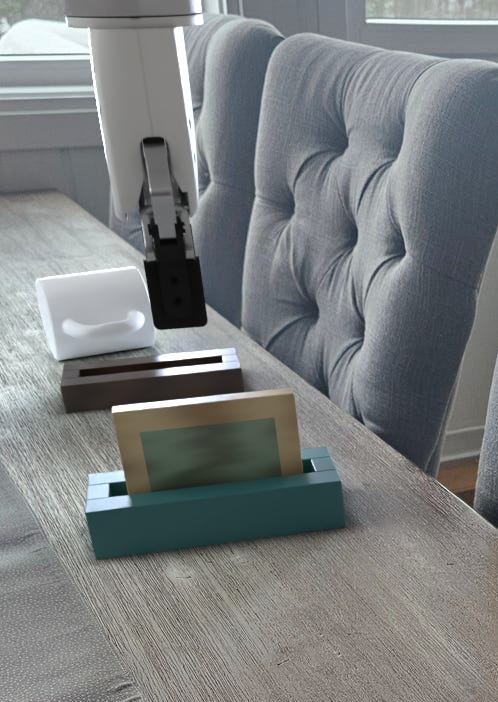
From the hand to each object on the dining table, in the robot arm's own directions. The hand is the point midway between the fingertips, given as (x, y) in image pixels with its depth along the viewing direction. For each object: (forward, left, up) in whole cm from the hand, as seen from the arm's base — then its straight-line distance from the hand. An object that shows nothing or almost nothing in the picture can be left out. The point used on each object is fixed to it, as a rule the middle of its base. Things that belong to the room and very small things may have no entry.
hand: (178, 306), depth 72 cm
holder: (+1, 0, -15) cm, 15 cm away
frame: (+1, 0, -15) cm, 15 cm away
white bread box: (-19, +42, -15) cm, 49 cm away
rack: (-11, +30, -15) cm, 35 cm away
